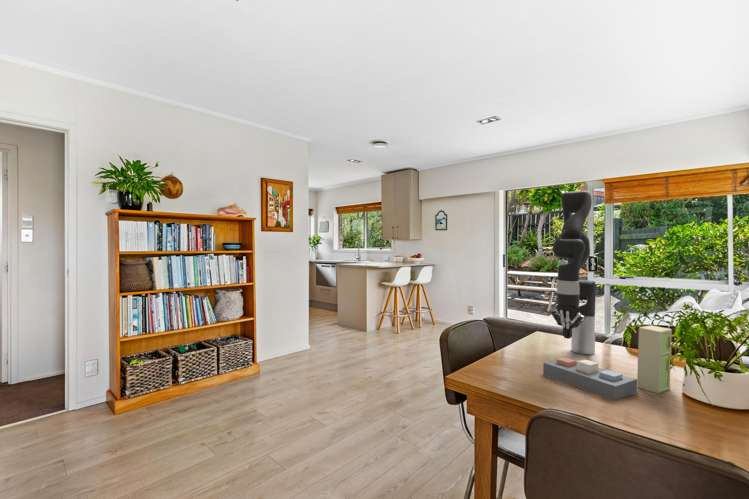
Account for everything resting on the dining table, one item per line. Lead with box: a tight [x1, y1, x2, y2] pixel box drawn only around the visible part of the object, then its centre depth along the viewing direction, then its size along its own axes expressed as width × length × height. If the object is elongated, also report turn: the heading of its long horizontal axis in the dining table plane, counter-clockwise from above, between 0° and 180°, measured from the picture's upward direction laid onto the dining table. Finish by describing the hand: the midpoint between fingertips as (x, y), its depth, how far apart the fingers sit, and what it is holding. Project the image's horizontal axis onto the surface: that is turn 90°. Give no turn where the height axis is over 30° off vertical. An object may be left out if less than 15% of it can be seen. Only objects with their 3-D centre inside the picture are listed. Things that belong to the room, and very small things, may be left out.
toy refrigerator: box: [636, 325, 673, 394], centre depth 128 cm, size 8×7×21 cm
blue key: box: [599, 369, 623, 382], centre depth 126 cm, size 5×5×4 cm
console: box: [542, 359, 638, 401], centre depth 133 cm, size 13×26×4 cm, turn 29°
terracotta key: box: [556, 357, 578, 367], centre depth 140 cm, size 5×5×4 cm
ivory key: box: [576, 359, 599, 374], centre depth 132 cm, size 5×5×4 cm
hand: (567, 338), depth 139 cm, fingers closed
